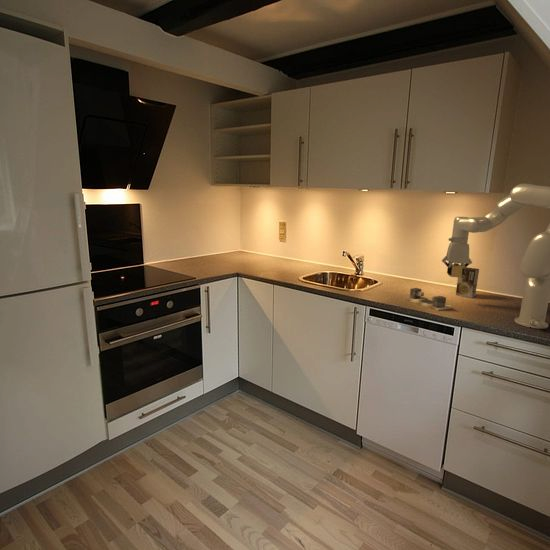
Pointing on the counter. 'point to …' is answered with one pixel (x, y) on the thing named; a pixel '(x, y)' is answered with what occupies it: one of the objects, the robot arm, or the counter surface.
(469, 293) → the coffee box
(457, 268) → the coupling block
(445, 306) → the shaft bench
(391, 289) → the counter surface
